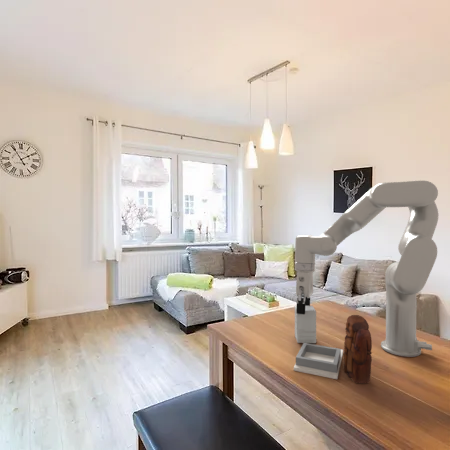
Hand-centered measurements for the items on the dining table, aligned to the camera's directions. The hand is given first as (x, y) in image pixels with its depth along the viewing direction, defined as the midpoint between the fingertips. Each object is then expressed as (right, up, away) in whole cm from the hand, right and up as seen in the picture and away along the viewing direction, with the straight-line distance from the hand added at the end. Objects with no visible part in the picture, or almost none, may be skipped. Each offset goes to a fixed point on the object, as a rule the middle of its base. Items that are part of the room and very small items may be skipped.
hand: (303, 310), depth 122 cm
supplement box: (+1, -12, 0) cm, 12 cm away
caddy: (+1, -12, -18) cm, 22 cm away
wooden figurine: (+9, -13, -27) cm, 31 cm away
